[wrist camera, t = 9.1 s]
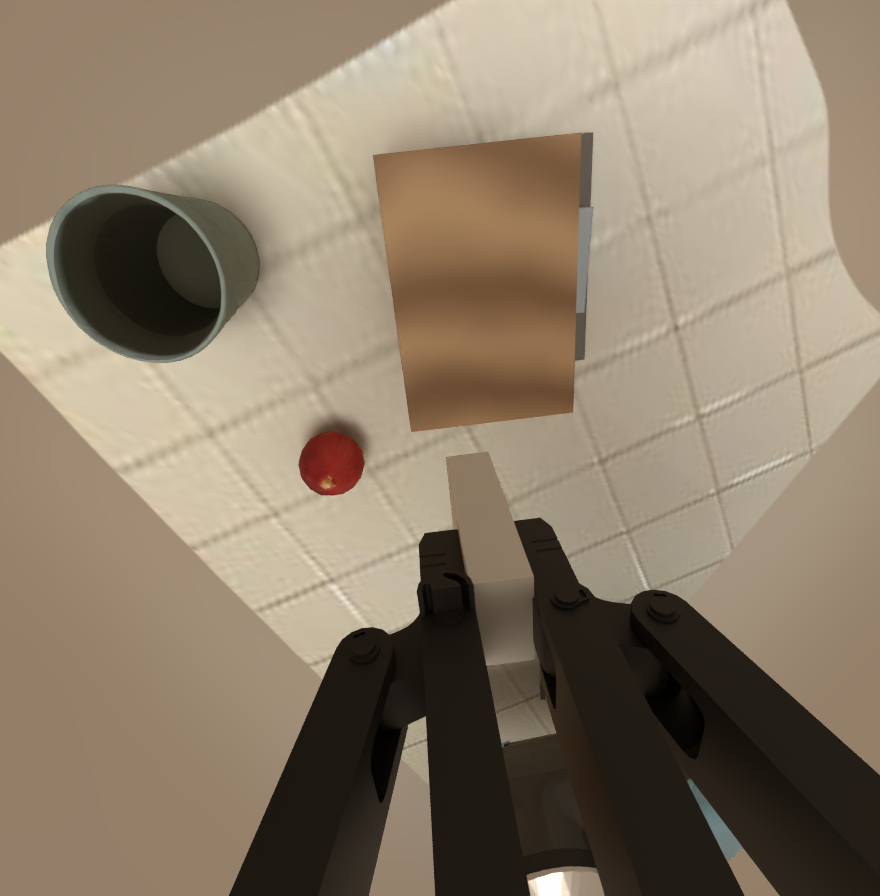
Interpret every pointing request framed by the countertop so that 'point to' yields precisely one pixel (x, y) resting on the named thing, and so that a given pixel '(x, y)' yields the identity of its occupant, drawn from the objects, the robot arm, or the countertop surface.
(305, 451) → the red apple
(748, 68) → the countertop surface
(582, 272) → the box
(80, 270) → the grey-green tapered bin
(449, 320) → the brown flat-topped block
